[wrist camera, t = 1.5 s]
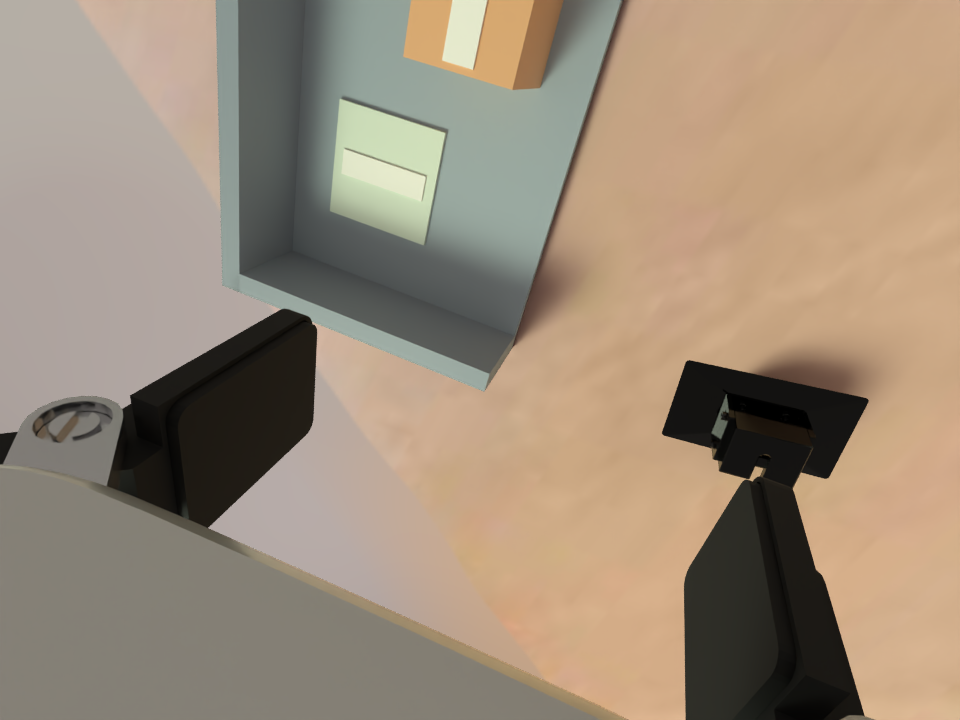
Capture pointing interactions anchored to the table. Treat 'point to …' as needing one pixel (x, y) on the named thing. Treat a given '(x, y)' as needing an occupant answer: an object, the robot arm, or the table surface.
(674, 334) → the table surface
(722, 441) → the black hollow angular block
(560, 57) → the grey blue tray
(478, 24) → the cube
